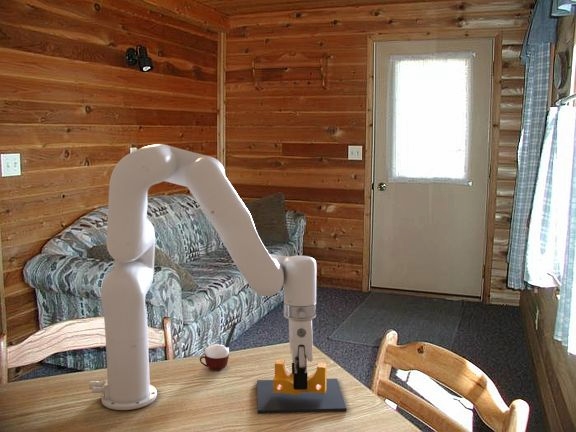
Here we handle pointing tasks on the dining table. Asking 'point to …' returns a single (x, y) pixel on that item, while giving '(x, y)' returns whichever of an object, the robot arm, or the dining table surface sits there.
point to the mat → (299, 399)
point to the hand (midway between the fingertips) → (299, 382)
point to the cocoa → (218, 353)
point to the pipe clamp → (285, 380)
